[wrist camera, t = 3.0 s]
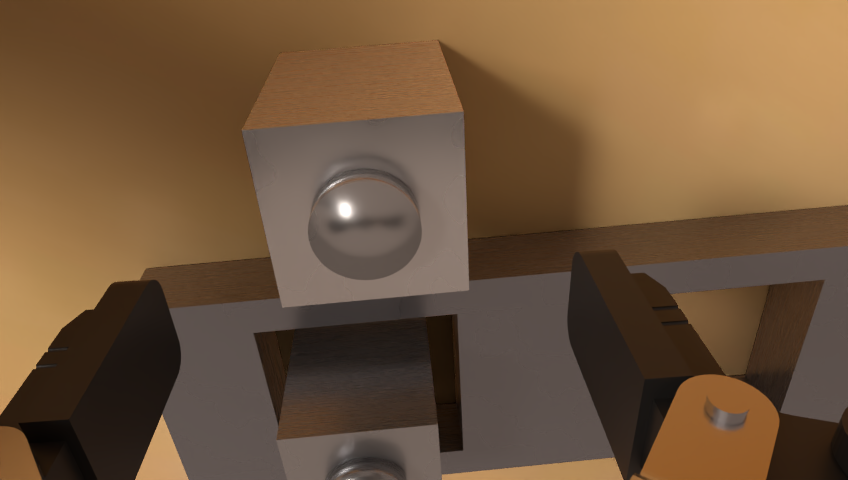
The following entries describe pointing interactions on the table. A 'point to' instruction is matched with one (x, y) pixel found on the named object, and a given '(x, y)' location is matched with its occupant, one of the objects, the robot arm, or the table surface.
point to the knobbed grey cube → (360, 404)
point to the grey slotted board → (511, 338)
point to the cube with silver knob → (361, 173)
